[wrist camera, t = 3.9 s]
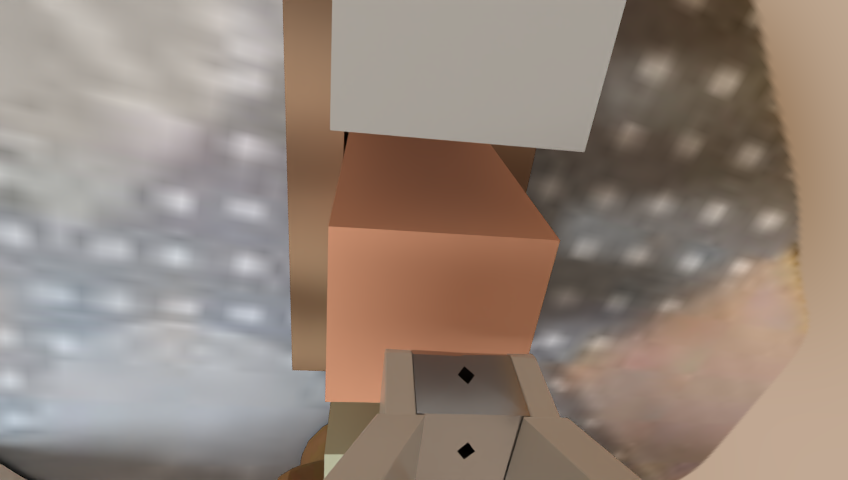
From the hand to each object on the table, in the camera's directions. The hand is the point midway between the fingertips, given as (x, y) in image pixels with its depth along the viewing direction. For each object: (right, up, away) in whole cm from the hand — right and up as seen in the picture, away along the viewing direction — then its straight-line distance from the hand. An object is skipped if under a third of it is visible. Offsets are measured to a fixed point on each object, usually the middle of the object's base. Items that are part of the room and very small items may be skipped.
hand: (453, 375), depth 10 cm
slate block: (0, +12, +7) cm, 14 cm away
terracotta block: (-1, +5, +10) cm, 12 cm away
